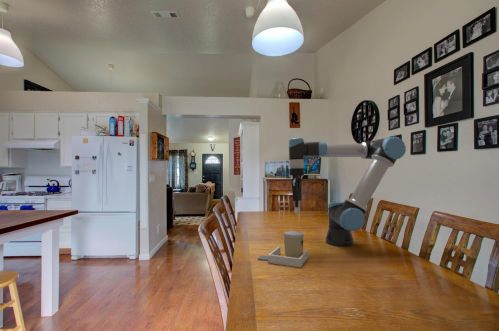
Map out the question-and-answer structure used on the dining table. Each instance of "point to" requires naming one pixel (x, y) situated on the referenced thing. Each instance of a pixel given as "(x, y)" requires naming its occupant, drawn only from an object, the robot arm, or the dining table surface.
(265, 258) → the slate tile
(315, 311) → the dining table surface
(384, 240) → the dining table surface
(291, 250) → the coffee cup
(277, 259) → the frame
